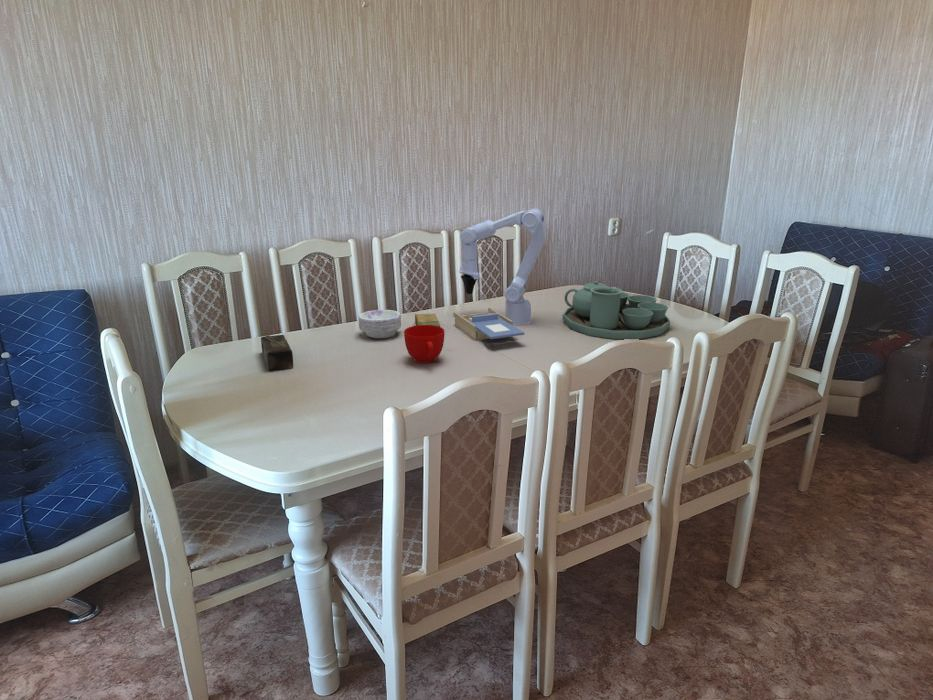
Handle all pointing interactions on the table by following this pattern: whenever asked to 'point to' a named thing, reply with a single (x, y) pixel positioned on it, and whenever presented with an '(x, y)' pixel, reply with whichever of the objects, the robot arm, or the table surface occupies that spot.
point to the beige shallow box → (470, 328)
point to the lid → (494, 326)
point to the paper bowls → (380, 323)
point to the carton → (426, 319)
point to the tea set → (614, 313)
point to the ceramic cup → (424, 342)
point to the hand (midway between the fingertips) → (469, 293)
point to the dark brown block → (277, 352)
